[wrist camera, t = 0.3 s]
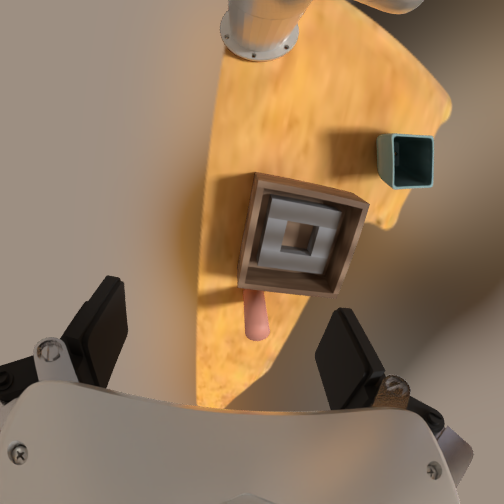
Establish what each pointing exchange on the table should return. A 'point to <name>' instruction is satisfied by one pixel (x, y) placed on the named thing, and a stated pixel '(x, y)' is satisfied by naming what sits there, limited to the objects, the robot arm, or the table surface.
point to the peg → (255, 315)
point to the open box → (298, 237)
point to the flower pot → (405, 160)
